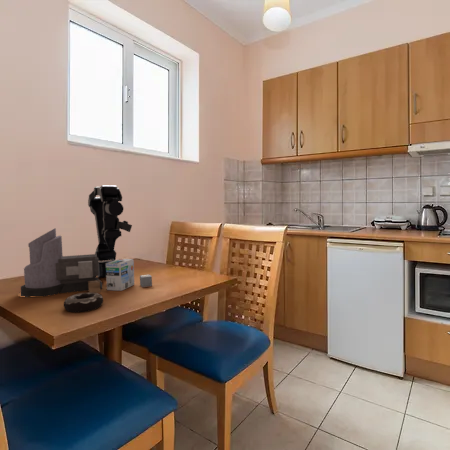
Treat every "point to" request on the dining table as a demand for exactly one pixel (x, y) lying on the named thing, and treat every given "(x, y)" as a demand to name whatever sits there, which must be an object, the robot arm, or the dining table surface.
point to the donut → (83, 302)
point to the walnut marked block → (94, 286)
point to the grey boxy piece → (57, 268)
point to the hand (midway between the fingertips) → (112, 252)
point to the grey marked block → (145, 280)
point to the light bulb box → (120, 274)
